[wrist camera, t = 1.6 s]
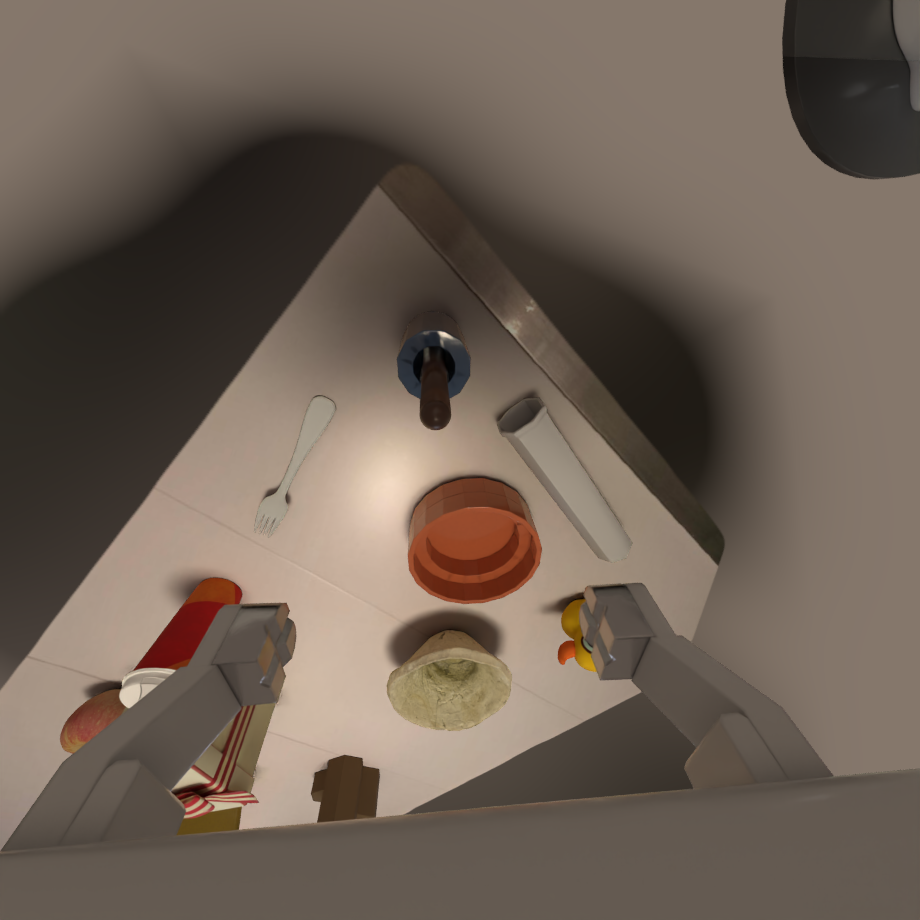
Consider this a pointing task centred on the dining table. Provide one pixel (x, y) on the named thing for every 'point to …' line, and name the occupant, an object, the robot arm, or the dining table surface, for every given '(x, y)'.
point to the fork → (296, 461)
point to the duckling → (575, 638)
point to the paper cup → (179, 638)
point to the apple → (91, 719)
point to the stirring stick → (434, 390)
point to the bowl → (449, 683)
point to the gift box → (226, 765)
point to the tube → (564, 478)
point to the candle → (346, 790)
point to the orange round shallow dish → (472, 542)
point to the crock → (433, 332)
